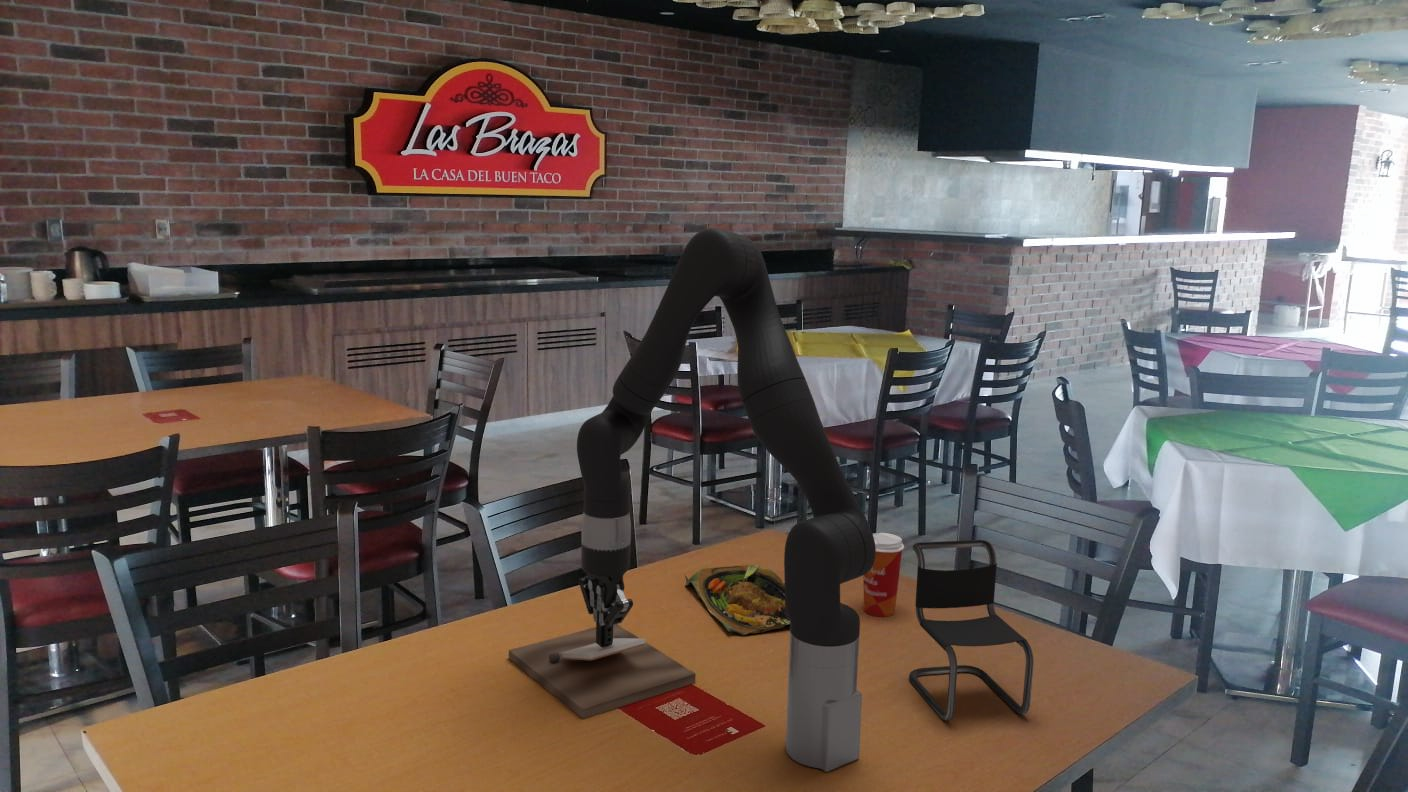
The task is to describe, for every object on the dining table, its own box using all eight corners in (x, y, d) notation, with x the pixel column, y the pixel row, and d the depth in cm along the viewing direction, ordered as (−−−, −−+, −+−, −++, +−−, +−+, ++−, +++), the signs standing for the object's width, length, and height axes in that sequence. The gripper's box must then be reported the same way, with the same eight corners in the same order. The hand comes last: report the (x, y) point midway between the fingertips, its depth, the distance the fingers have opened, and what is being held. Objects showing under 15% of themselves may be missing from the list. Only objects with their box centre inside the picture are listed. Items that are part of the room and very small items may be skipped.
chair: (977, 668, 164) (986, 538, 160) (1030, 721, 147) (1042, 577, 143) (901, 673, 162) (909, 542, 158) (947, 728, 145) (956, 582, 141)
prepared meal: (825, 609, 179) (730, 618, 173) (825, 628, 180) (730, 638, 174) (765, 562, 205) (680, 569, 199) (764, 578, 206) (680, 586, 200)
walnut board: (695, 682, 157) (695, 665, 157) (582, 719, 145) (582, 700, 145) (614, 630, 176) (614, 614, 176) (508, 658, 164) (508, 641, 164)
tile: (613, 638, 166) (614, 644, 166) (559, 653, 161) (560, 659, 160) (644, 638, 158) (645, 644, 158) (589, 654, 153) (590, 660, 152)
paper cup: (850, 606, 189) (853, 534, 186) (884, 600, 192) (888, 529, 189) (874, 622, 182) (878, 547, 179) (909, 615, 185) (913, 542, 182)
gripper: (650, 548, 152) (647, 655, 156) (604, 523, 163) (603, 624, 166) (607, 557, 148) (605, 667, 151) (563, 531, 158) (562, 634, 162)
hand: (604, 644), depth 159 cm, fingers closed
